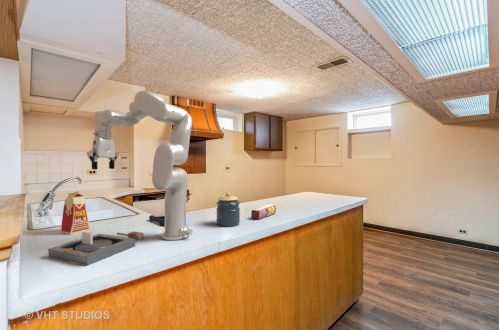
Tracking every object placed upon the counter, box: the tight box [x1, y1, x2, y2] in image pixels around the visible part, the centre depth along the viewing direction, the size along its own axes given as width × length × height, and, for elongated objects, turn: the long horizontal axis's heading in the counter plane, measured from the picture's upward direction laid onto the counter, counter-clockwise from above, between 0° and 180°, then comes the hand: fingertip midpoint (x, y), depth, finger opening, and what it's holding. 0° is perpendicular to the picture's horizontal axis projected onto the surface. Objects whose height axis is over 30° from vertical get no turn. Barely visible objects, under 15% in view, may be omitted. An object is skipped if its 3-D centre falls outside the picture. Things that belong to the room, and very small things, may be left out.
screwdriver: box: [116, 231, 145, 241], centre depth 112 cm, size 14×3×3 cm, turn 70°
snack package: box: [250, 203, 277, 221], centre depth 156 cm, size 21×7×7 cm, turn 146°
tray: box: [47, 233, 136, 266], centre depth 95 cm, size 20×20×4 cm
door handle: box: [148, 214, 165, 227], centre depth 143 cm, size 3×20×16 cm
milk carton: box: [60, 190, 91, 236], centre depth 122 cm, size 9×9×20 cm
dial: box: [75, 231, 112, 253], centre depth 95 cm, size 12×12×6 cm
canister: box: [215, 191, 241, 228], centre depth 137 cm, size 13×13×18 cm
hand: (103, 168), depth 128 cm, fingers open, 9 cm apart
